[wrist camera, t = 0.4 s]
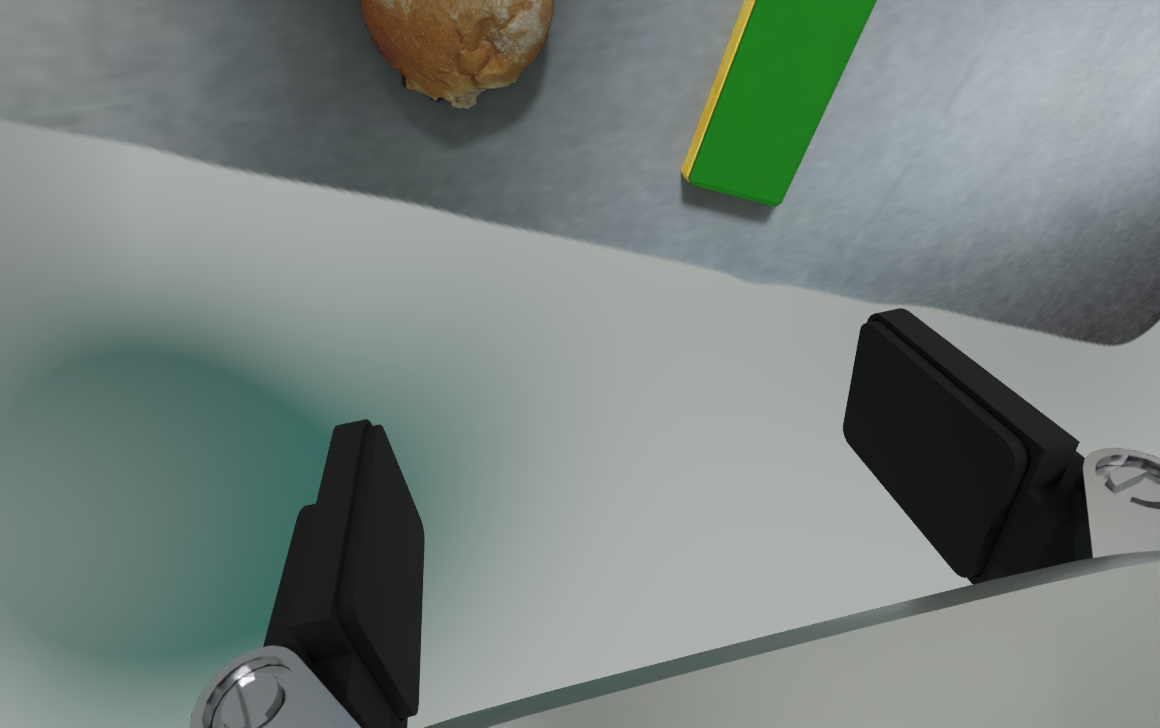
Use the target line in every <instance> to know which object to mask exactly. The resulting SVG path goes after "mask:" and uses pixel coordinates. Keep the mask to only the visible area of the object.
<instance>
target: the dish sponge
mask: <svg viewBox="0 0 1160 728" xmlns="http://www.w3.org/2000/svg"><path fill="white" fill-rule="evenodd" d="M876 1H877V0H745V1H744V3H743V6H742V9H741V11H740V14H739V17H738V19H737V22H736V25H735V28H734V30H733V33H732V36H731V38H730V41H729V44H728V46H727V49H726V52H725V54H724V57H723V60H722V62H721V65H720V68H719V70H718V73H717V76H716V78H715V81H714V84H713V87H712V89H711V92H710V95H709V97H708V100H707V103H706V105H705V108H704V111H703V113H702V116H701V119H700V121H699V124H698V127H697V129H696V132H695V135H694V137H693V140H692V143H691V145H690V148H689V151H688V154H687V156H686V159H685V162H684V164H683V167H682V170H681V172H682V175H683V177H684V178H685V179H686V180H687V181H688V182H690V183H691V184H692V185H694V186H697V187H701V188H705V189H709V190H713V191H716V192H720V193H724V194H728V195H732V196H735V197H739V198H743V199H747V200H751V201H754V202H758V203H762V204H766V205H770V206H773V207H776V206H778V205H779V204H781V203H782V201H783V199H784V197H785V195H786V192H787V190H788V188H789V186H790V184H791V182H792V180H793V178H794V175H795V173H796V171H797V169H798V167H799V165H800V163H801V161H802V158H803V156H804V154H805V152H806V150H807V148H808V146H809V143H810V141H811V139H812V137H813V135H814V133H815V131H816V129H817V126H818V124H819V122H820V120H821V118H822V116H823V114H824V112H825V109H826V107H827V105H828V103H829V101H830V99H831V97H832V94H833V92H834V90H835V88H836V86H837V84H838V82H839V80H840V77H841V75H842V73H843V71H844V69H845V67H846V65H847V63H848V60H849V58H850V56H851V54H852V52H853V50H854V48H855V46H856V43H857V41H858V39H859V37H860V35H861V33H862V31H863V28H864V26H865V24H866V22H867V20H868V18H869V16H870V14H871V11H872V9H873V7H874V5H875V3H876Z"/></svg>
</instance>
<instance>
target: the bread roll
mask: <svg viewBox="0 0 1160 728" xmlns="http://www.w3.org/2000/svg"><path fill="white" fill-rule="evenodd" d="M360 2H361V8H362V12H363V16H364V19H365V25H366V27H367V28H368V29H369V31H370V33H371V37H372V42H373V44H374V45H375V47H376V49H377V51H378V53H379V54H380V55H381V57H382V58H383V59H384V60H385V62H387V63H388V64H389V65H390V67H392V68H393V69H395V70H397V71H398V72H399V73H400V75H401V76H402V85H403V87H405V88H406V89H411V90H414V91H417V92H420V93H424V94H426V95H427V96H428V97H429V98H430V99H431V100H434V101H436V102H439V101H441V100H447V101H449V103H450V104H451V106H452V107H454V108H466V109H468V108H470V107H471V106H473V105H475V104H477V96H478V95H480V94H481V93H482V91H485V90H486V89H488V88H500V87H506V86H509V84H510V83H515V82H516V81H517V79H518V77H519V76H520V74H521V72H522V71H523V70H524V69H525V68H526V67H528V66H529V65H530V64H531V63H532V62H533V61H534V60H535V58H536V57H537V55H538V53H539V52H540V50H541V48H542V47H543V45H544V43H545V41H546V39H547V36H548V31H549V29H550V25H551V20H552V14H553V6H554V0H360Z"/></svg>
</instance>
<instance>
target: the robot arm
mask: <svg viewBox="0 0 1160 728" xmlns="http://www.w3.org/2000/svg"><path fill="white" fill-rule="evenodd" d="M843 432H844V436H845V439H846V441H847V442H848V444H849V445H850V446H851V448H852V449H853V450H854V451H855V453H857V455H858V456H859V457H860V458H861V460H862V461H863V462H864V463H865V465H866V466H867V467H868V468H869V469H870V471H871V472H872V473H873V474H874V475H875V477H876V478H877V479H878V480H879V481H880V483H881V484H882V485H883V486H884V487H885V489H886V490H887V491H888V492H889V493H890V495H891V496H892V497H893V498H894V500H895V501H896V502H897V503H898V504H899V505H900V507H901V508H902V509H903V510H904V512H905V513H906V514H907V515H908V516H909V518H910V519H911V520H912V521H913V523H914V524H915V525H916V526H917V527H918V528H919V530H920V531H921V532H922V533H923V535H924V536H925V537H926V538H927V539H928V541H929V542H930V543H931V544H932V545H933V547H934V548H935V549H936V550H937V551H938V553H939V554H940V555H941V556H942V558H943V559H944V560H945V561H946V562H947V564H948V565H949V566H950V567H951V568H952V570H953V571H954V572H955V573H956V574H957V575H959V576H961V577H964V578H966V577H967V578H968V579H969V581H970V582H971V583H972V584H973V585H970V586H966V587H962V588H958V589H954V590H950V591H945V592H941V593H937V594H933V595H929V596H925V597H921V598H917V599H913V600H909V601H905V602H901V603H897V604H892V605H888V606H884V607H880V608H876V609H872V610H868V611H864V612H860V613H856V614H852V615H848V616H844V617H840V618H836V619H832V620H828V621H824V622H820V623H816V624H812V625H808V626H804V627H800V628H796V629H792V630H788V631H784V632H780V633H776V634H772V635H768V636H765V637H760V638H756V639H752V640H748V641H745V642H741V643H736V644H733V645H729V646H725V647H721V648H717V649H713V650H709V651H705V652H701V653H697V654H693V655H689V656H685V657H681V658H678V659H674V660H670V661H666V662H662V663H658V664H654V665H650V666H646V667H642V668H638V669H635V670H631V671H627V672H623V673H619V674H615V675H611V676H608V677H603V678H600V679H596V680H592V681H588V682H584V683H580V684H576V685H572V686H569V687H565V688H561V689H557V690H553V691H550V692H546V693H542V694H538V695H535V696H531V697H528V698H524V699H520V700H517V701H513V702H510V703H506V704H502V705H498V706H495V707H491V708H487V709H484V710H481V711H477V712H473V713H469V714H466V715H462V716H459V717H455V718H452V719H449V720H446V721H443V722H440V723H437V724H434V725H431V726H428V727H425V728H1160V458H1159V457H1156V456H1154V455H1151V454H1147V453H1143V452H1140V451H1136V450H1130V449H1122V448H1108V449H1101V450H1097V451H1095V452H1092V453H1090V454H1089V455H1088V456H1087V457H1086V458H1084V457H1083V456H1082V455H1080V454H1079V453H1078V452H1077V451H1076V449H1077V447H1078V444H1079V441H1077V439H1075V438H1074V437H1073V436H1071V435H1070V434H1068V433H1067V432H1066V431H1065V430H1063V429H1062V428H1060V426H1058V425H1057V424H1056V423H1054V422H1053V421H1051V420H1050V419H1049V418H1048V417H1046V416H1045V415H1044V414H1043V413H1041V412H1040V411H1039V410H1037V409H1036V408H1035V407H1033V406H1032V405H1031V404H1029V403H1028V402H1026V401H1025V400H1024V399H1023V398H1022V397H1020V396H1019V395H1018V394H1016V393H1015V392H1014V391H1012V390H1011V389H1010V388H1008V387H1007V386H1006V385H1004V384H1003V383H1002V382H1001V381H999V380H998V379H997V378H995V377H994V376H993V375H991V374H990V373H989V372H988V371H986V370H985V369H984V368H982V367H981V366H980V365H978V364H977V363H976V362H974V361H973V360H972V359H970V358H969V357H968V356H967V355H965V354H964V353H963V352H961V351H960V350H959V349H957V348H956V347H955V346H954V345H952V344H951V343H950V342H948V341H947V340H946V339H944V338H943V337H942V336H940V335H939V334H938V333H936V332H935V331H934V330H933V329H931V328H930V327H929V326H927V325H926V324H925V323H923V322H922V321H921V320H920V319H918V318H917V317H915V316H914V315H913V314H912V313H910V312H909V311H907V310H905V309H900V308H899V309H895V310H890V311H885V312H881V313H875V314H873V315H871V316H870V317H869V319H868V321H867V323H865V324H863V325H862V327H861V329H860V335H859V340H858V345H857V351H856V356H855V362H854V367H853V373H852V379H851V384H850V390H849V395H848V401H847V406H846V412H845V418H844V423H843ZM423 567H424V530H423V525H422V521H421V518H420V516H419V514H418V511H417V509H416V506H415V504H414V502H413V499H412V497H411V494H410V492H409V489H408V487H407V484H406V482H405V479H404V477H403V474H402V472H401V470H400V467H399V465H398V462H397V460H396V458H395V455H394V453H393V450H392V448H391V445H390V443H389V440H388V438H387V435H386V433H385V431H384V428H383V427H382V426H381V425H375V426H372V424H371V422H370V421H369V420H367V419H365V420H361V421H356V422H351V423H346V424H341V425H337V426H335V428H334V430H333V434H332V438H331V443H330V447H329V451H328V455H327V459H326V464H325V468H324V472H323V477H322V481H321V485H320V489H319V493H318V498H317V502H316V504H312V505H307V506H304V507H303V508H302V509H301V510H300V512H299V515H298V517H297V521H296V524H295V528H294V532H293V536H292V539H291V543H290V547H289V551H288V555H287V558H286V562H285V566H284V570H283V574H282V577H281V581H280V585H279V589H278V593H277V596H276V600H275V604H274V608H273V612H272V615H271V619H270V623H269V627H268V631H267V635H266V638H265V642H264V646H263V647H260V648H256V649H254V650H252V651H249V652H247V653H245V654H242V655H241V656H239V657H238V658H236V659H234V660H233V661H232V662H230V663H229V664H227V665H226V666H224V667H223V668H222V669H221V670H220V671H219V672H218V673H217V674H216V675H215V676H214V677H213V678H212V679H211V680H210V681H209V683H208V684H207V686H206V687H205V688H204V690H203V691H202V693H201V694H200V696H199V697H198V700H197V702H196V704H195V707H194V709H193V712H192V714H191V722H190V728H407V721H408V717H410V716H414V715H416V714H417V712H418V705H419V681H420V652H421V651H420V650H421V624H422V596H423Z"/></svg>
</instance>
